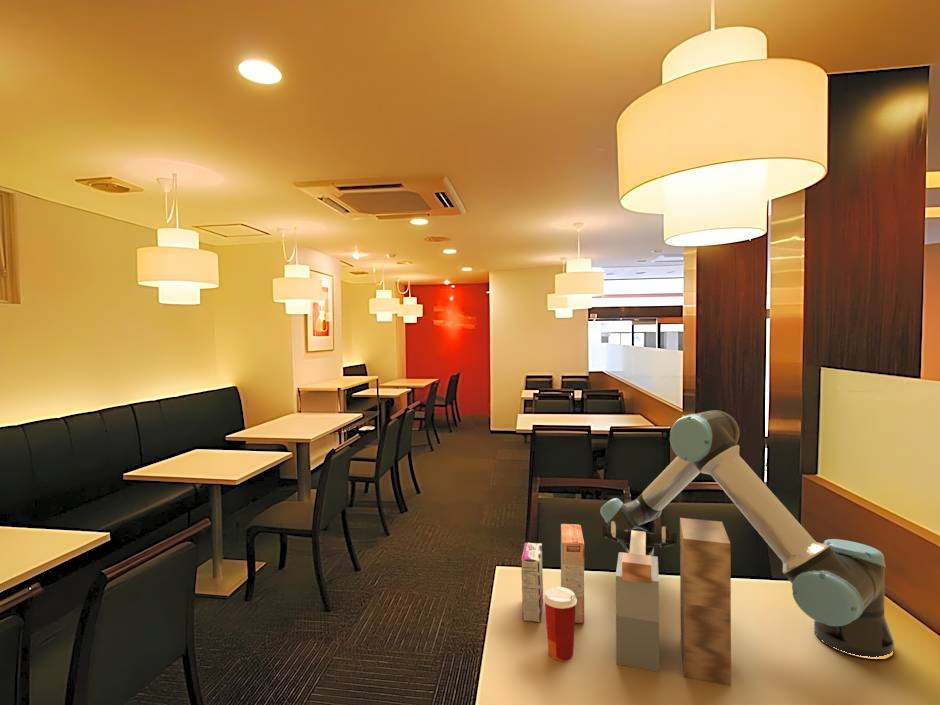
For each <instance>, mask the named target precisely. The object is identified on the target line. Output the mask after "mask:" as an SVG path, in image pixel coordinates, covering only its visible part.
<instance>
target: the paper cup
mask: <svg viewBox="0 0 940 705" xmlns="http://www.w3.org/2000/svg"><path fill="white" fill-rule="evenodd" d="M543 603H544V608H545V610H544V611H545V622H546V623H545V624H546V626H545V627H546V634H547V635H546V637H547V649H548V655H549V656H550V658H552V660H556V661H558V660H559V662H566V661H569V660H571V659H572V657H573V655H574V644H575V643H574V642H575V624H576V623H575V606H576V603H577V599H576V597H575V594H574V592H573V591H571V590H570V589H567V588H563V587H561V586H554V587H551V588H548V589H547V590H546V591H545V592H544V593H543Z"/></svg>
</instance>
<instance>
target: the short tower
mask: <svg viewBox="0 0 940 705" xmlns="http://www.w3.org/2000/svg"><path fill="white" fill-rule="evenodd" d="M623 553H624V552H623V551H622V552H621V551H620V552H618V555H617V563H616V571H615V644H616V645H615V646H616V647H615V648H616V649H615V650H616V651H615V652H616V657H615V658H616V665H620V666H625V667H631V668H635V669H641V670H647V671H651V672H657V673H659V672H660V588H659V587H660V584H659V583H660V578H659V577H660V576H659V557H658V556H655V555H653V556H651V584H649V583H642V582H635V581H627V580H622V559H623Z"/></svg>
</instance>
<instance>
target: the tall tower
mask: <svg viewBox="0 0 940 705" xmlns="http://www.w3.org/2000/svg"><path fill="white" fill-rule="evenodd" d="M679 547H680V548H679V560H680V561H679V562H680V563H679V566H680V567H679V573H680V574H679V575H680V576H679V579H680V580H679V584H680V585H679V587H680V589H679V590H680V592H679V593H680V594H679V597H680V600H679V601H680V608H679V610H680V612H679V613H680V647H681V648H680V649H681V650H680V651H681V657H682V658H681V660H682V669H683V676H684V678H688V679H695V680H699V681H704V682H709V683H710V682H711V683H716V684H720V685H726V686H732V627H731V626H732V624H731V623H732V622H731V620H732V616H731V615H732V611H731V610H732V609H731V608H732V605H731V604H732V601H731V600H732V597H731V596H732V594H731V593H732V589H731V588H732V587H731V586H732V585H731V583H732V582H731V580H732V579H731V578H732V576H731V574H732V573H731V572H732V571H731V570H732V569H731V568H732V567H731V562H732V561H731V559H732V558H731V557H732V555H731V552H732V550H731V548H732V547H731V541H730V538H729V535H728V534H727V531H726V528H725V526H724V522H723V521H718V520H709V519H708V520H707V519H697V518H688V517H687V518H685V517H679Z"/></svg>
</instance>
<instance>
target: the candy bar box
mask: <svg viewBox="0 0 940 705" xmlns="http://www.w3.org/2000/svg"><path fill="white" fill-rule="evenodd" d="M542 548H543V543H541V542H540V543H538V542H524V546H523V550H522V551H523V552H522V555H521V560H520V561H521V563H520V564H521V566H520V567H521V591H522V594H521V595H522V596H521V597H522V599H521V600H522V621H523V622H529V621H533V622H532V623H541V622H542V614H543V605H544V600H543V596H544V584H543V583H544V582H543V579H544V578H543V575H544V574H543V549H542Z"/></svg>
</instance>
